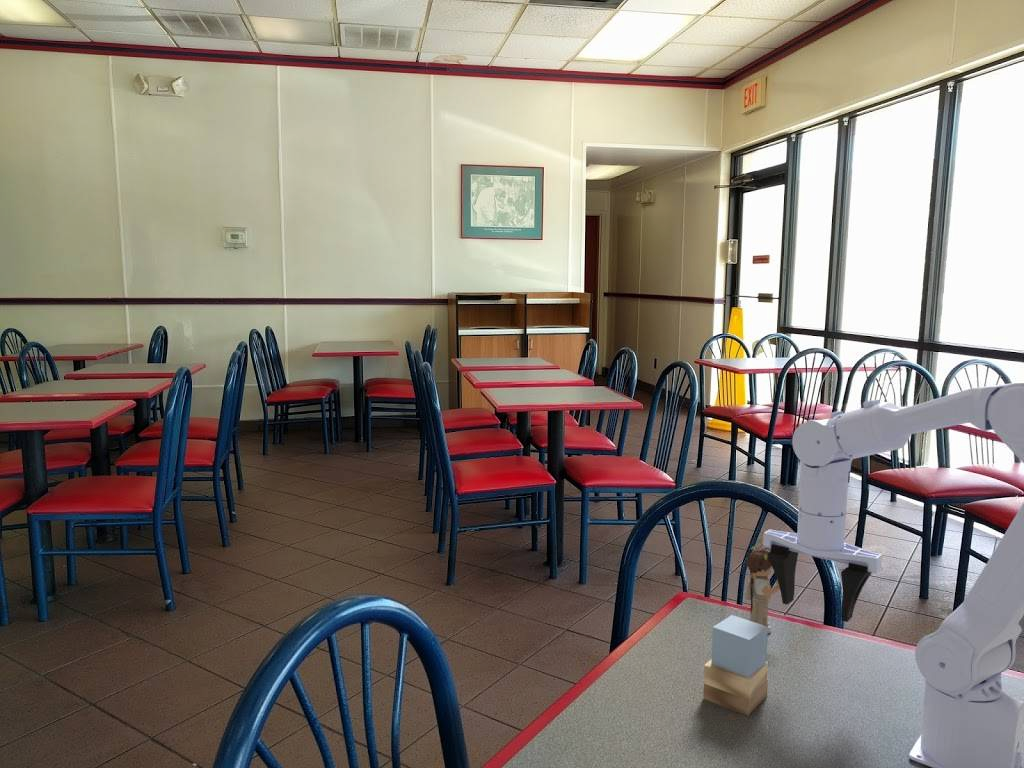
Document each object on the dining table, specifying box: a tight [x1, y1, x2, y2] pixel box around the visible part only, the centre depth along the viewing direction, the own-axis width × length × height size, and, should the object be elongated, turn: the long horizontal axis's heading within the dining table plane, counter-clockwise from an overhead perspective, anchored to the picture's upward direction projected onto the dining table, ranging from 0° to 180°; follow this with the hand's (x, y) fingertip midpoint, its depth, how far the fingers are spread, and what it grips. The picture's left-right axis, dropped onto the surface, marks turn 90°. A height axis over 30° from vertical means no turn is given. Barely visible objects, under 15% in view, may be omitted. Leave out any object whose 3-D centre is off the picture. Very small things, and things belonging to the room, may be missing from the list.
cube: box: [710, 614, 769, 678], centre depth 95 cm, size 5×5×5 cm
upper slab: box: [703, 658, 769, 700], centre depth 96 cm, size 6×6×2 cm
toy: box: [744, 539, 780, 634], centre depth 115 cm, size 6×6×15 cm
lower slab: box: [702, 679, 769, 717], centre depth 96 cm, size 6×6×2 cm
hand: (816, 610), depth 98 cm, fingers open, 7 cm apart
